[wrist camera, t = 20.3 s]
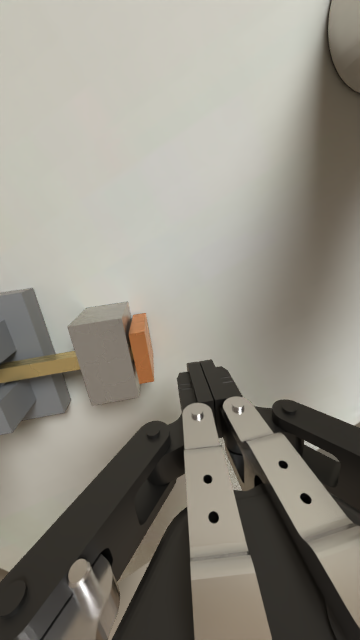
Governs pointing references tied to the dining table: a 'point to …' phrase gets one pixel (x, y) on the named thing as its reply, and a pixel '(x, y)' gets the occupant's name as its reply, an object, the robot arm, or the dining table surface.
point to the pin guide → (105, 353)
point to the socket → (23, 343)
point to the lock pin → (69, 361)
